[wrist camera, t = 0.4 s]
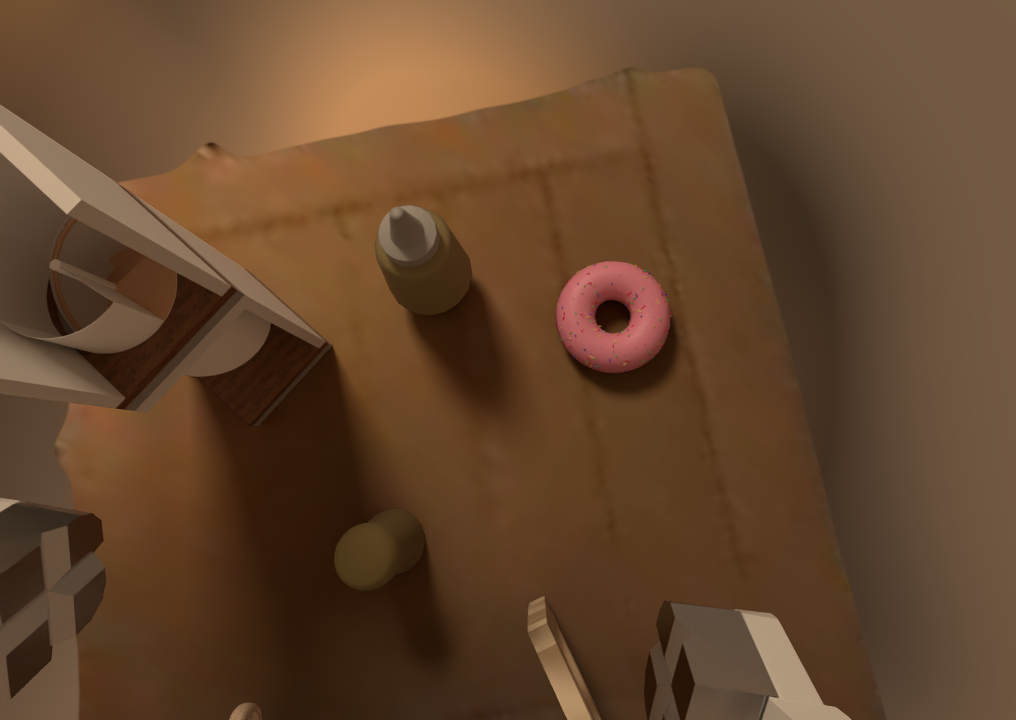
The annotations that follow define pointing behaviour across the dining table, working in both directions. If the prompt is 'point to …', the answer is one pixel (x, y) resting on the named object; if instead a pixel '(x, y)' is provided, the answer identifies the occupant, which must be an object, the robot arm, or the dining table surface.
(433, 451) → the dining table surface
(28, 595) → the robot arm
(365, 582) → the cork
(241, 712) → the teacup with lid
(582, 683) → the wooden panel
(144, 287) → the tiered white shelf
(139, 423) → the dining table surface
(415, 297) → the squeeze bottle
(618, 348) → the doughnut
